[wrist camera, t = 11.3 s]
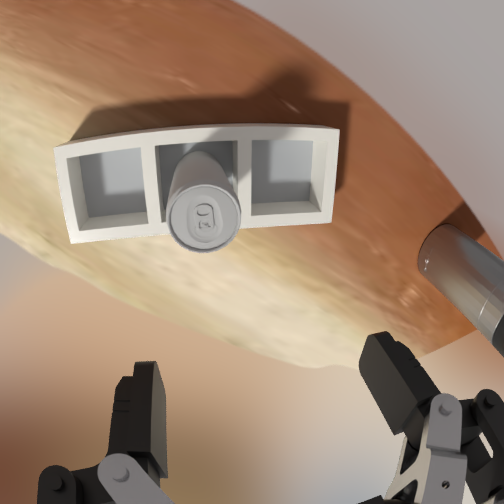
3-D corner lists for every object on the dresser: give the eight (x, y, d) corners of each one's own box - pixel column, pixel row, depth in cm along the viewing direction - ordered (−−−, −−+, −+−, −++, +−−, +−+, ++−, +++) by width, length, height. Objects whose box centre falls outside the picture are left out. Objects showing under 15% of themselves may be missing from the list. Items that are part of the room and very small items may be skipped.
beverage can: (177, 200, 30) (172, 260, 19) (170, 153, 27) (158, 188, 17) (225, 194, 30) (246, 249, 20) (221, 147, 28) (240, 177, 18)
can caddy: (322, 125, 29) (339, 129, 26) (316, 209, 34) (331, 222, 30) (69, 141, 25) (53, 147, 21) (82, 227, 29) (71, 243, 26)
